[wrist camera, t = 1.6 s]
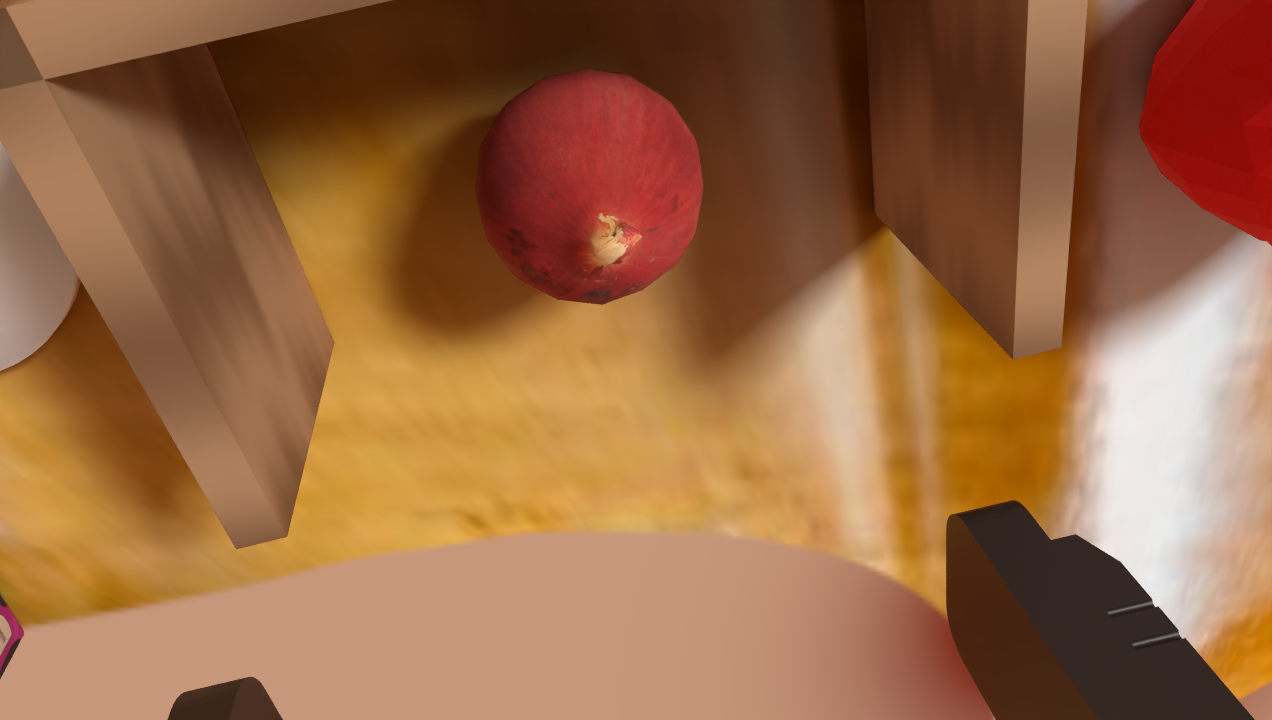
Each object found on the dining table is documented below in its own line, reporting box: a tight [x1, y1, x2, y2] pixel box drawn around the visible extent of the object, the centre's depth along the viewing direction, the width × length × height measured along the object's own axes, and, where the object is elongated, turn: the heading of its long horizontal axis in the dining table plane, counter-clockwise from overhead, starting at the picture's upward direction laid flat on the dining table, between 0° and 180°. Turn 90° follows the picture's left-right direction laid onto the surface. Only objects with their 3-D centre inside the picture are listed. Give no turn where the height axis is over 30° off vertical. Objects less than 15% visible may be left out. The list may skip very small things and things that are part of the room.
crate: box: [0, 0, 1088, 549], centre depth 23 cm, size 12×20×9 cm, turn 101°
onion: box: [475, 68, 704, 305], centre depth 24 cm, size 6×6×8 cm
